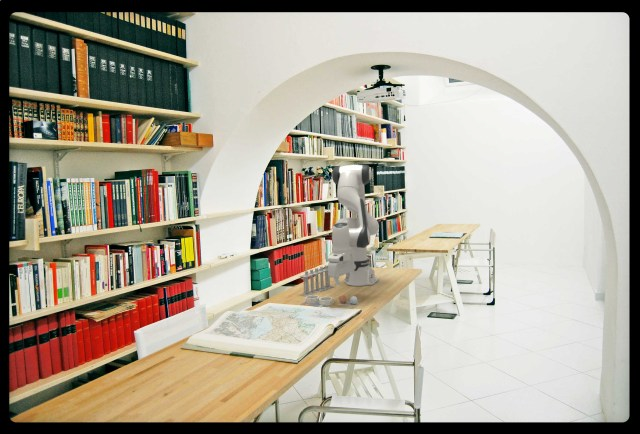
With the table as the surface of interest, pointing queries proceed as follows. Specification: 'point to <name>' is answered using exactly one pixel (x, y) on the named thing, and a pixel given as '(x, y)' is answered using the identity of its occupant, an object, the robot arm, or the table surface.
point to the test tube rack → (323, 288)
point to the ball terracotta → (343, 298)
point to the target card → (314, 304)
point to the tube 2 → (326, 301)
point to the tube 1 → (312, 299)
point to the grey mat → (348, 304)
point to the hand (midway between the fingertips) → (342, 283)
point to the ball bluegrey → (353, 300)
